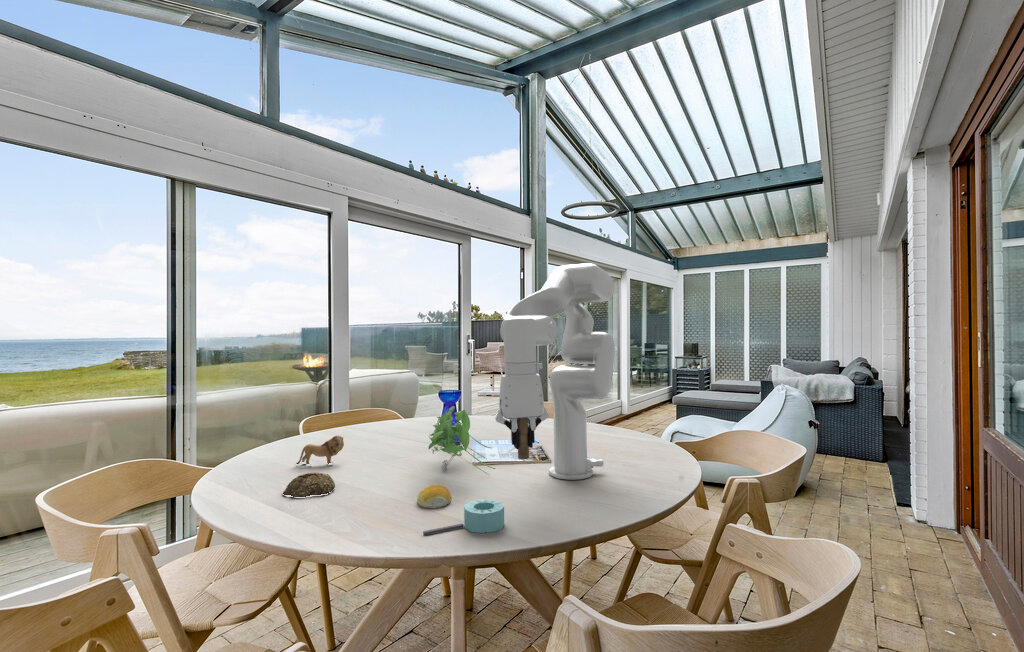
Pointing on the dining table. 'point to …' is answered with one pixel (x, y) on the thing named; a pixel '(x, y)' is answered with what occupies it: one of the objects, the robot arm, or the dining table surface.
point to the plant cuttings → (448, 431)
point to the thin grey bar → (443, 529)
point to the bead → (484, 515)
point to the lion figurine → (323, 449)
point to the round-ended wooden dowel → (523, 438)
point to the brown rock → (310, 485)
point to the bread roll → (434, 496)
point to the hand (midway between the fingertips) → (523, 446)
